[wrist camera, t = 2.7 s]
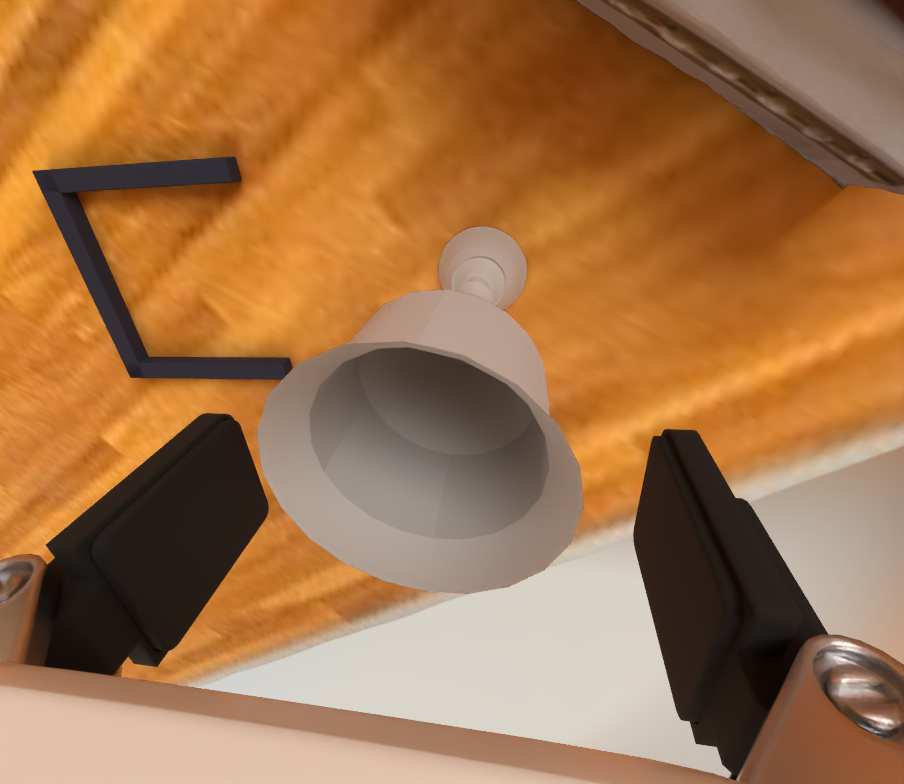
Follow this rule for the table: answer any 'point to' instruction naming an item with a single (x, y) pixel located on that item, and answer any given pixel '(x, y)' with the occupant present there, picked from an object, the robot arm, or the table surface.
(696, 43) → the bible
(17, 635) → the robot arm
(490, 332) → the chalice
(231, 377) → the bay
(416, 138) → the table surface
